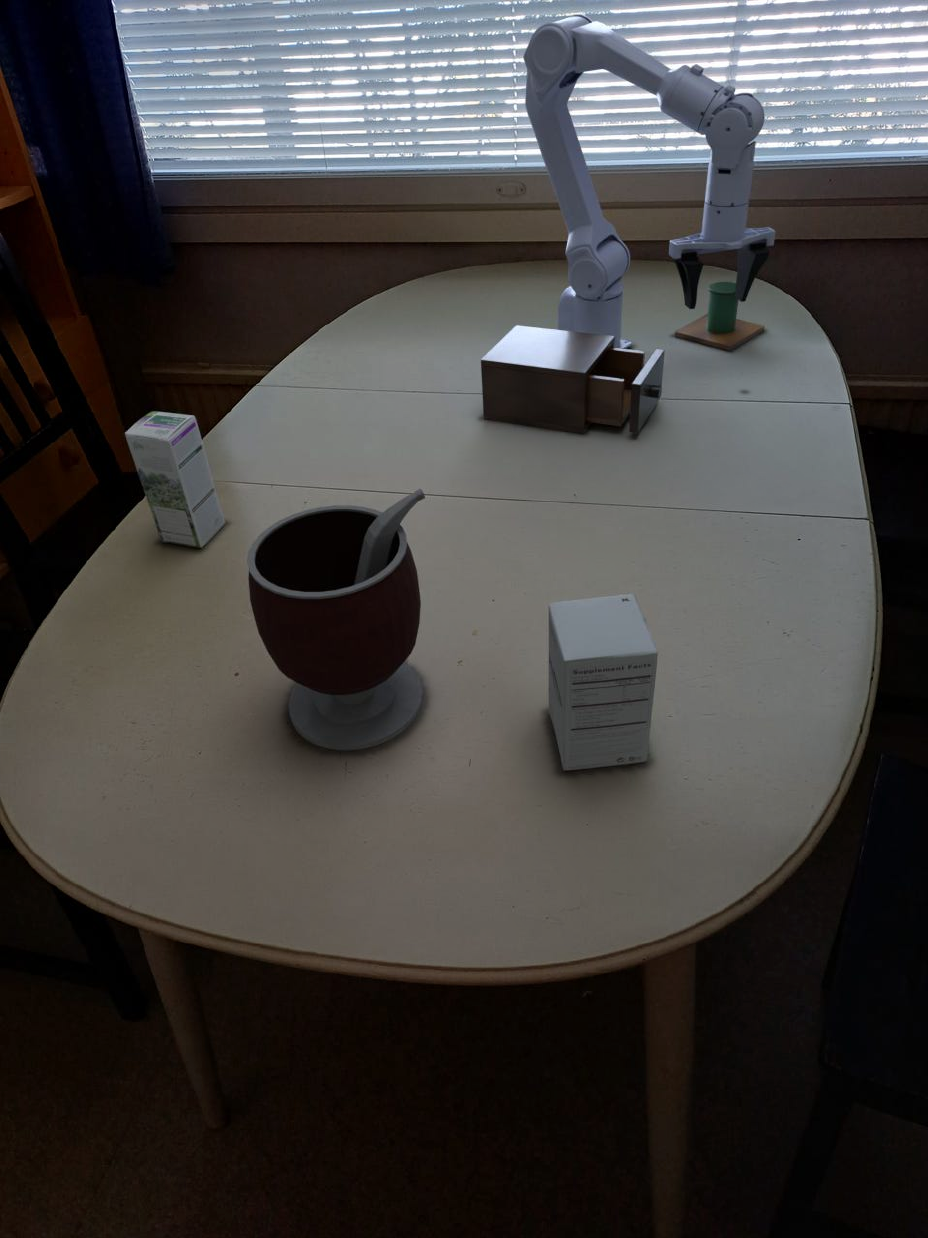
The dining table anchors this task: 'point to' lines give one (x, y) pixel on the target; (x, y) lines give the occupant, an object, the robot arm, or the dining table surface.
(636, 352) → the drawer
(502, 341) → the small wooden cabinet
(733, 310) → the green pot
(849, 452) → the dining table surface
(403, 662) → the mate gourd
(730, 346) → the board
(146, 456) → the syrup box
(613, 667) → the white packaging box
